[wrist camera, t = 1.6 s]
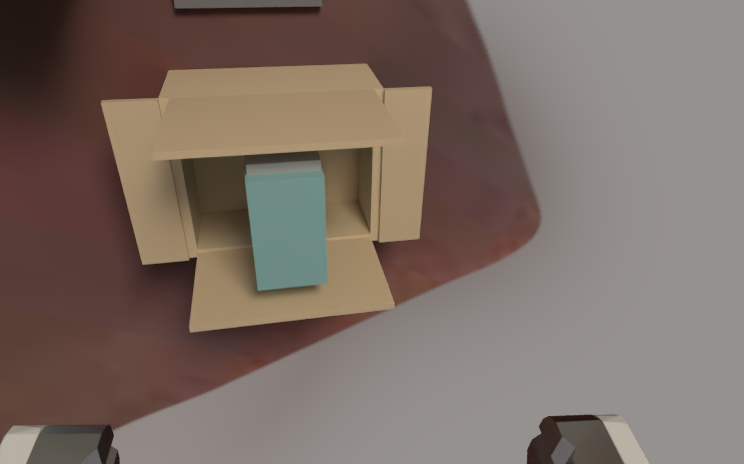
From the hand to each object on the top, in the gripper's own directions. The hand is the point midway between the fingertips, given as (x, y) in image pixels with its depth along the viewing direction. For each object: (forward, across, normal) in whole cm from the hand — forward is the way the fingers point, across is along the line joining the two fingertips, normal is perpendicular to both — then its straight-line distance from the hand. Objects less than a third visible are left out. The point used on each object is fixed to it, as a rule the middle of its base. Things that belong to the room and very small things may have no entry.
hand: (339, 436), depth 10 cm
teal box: (+30, -2, -10) cm, 31 cm away
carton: (+30, -2, -10) cm, 32 cm away
